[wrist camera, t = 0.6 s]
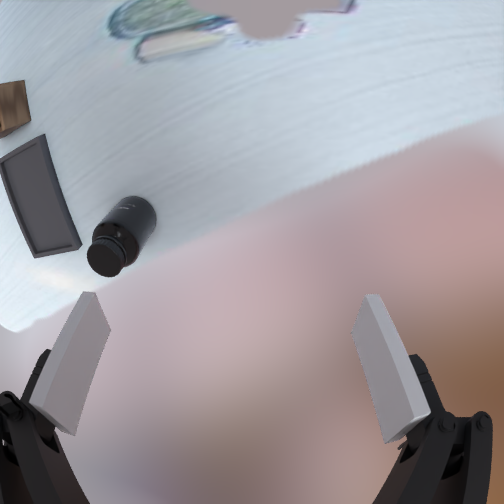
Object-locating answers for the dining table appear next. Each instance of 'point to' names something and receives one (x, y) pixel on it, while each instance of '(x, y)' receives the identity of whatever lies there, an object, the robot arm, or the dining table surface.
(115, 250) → the supplement bottle
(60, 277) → the dining table surface
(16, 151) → the tray
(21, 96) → the box
